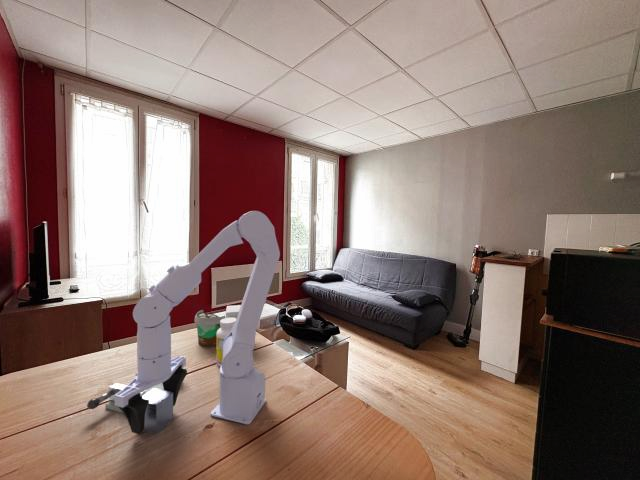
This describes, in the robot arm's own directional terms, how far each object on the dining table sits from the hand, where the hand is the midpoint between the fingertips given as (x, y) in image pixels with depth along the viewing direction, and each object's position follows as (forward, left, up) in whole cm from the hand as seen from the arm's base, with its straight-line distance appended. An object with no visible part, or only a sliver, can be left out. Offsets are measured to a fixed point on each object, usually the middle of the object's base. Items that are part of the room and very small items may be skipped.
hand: (154, 417), depth 53 cm
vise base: (+10, -7, -1) cm, 12 cm away
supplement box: (+4, -36, -2) cm, 36 cm away
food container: (+14, -33, -2) cm, 36 cm away
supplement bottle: (0, -25, -2) cm, 25 cm away
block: (0, 0, -2) cm, 2 cm away
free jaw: (+10, 0, 0) cm, 10 cm away
